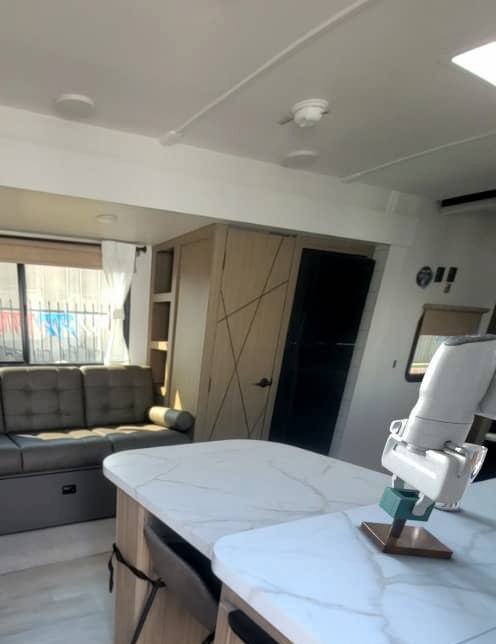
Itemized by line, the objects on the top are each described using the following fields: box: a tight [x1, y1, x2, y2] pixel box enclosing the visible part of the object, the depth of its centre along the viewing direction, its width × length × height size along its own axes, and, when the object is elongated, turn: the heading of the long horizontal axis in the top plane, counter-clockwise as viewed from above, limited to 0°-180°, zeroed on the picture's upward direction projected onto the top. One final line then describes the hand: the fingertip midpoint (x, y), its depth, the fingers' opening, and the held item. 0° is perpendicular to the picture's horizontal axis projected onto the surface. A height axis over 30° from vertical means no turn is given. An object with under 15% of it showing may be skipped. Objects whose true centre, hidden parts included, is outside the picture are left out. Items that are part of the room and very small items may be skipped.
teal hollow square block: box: [378, 486, 436, 523], centre depth 77 cm, size 6×6×4 cm
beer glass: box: [434, 442, 488, 512], centre depth 95 cm, size 7×7×15 cm
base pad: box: [359, 519, 454, 560], centre depth 79 cm, size 12×10×6 cm
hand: (405, 505), depth 77 cm, fingers closed on teal hollow square block, 6 cm apart
